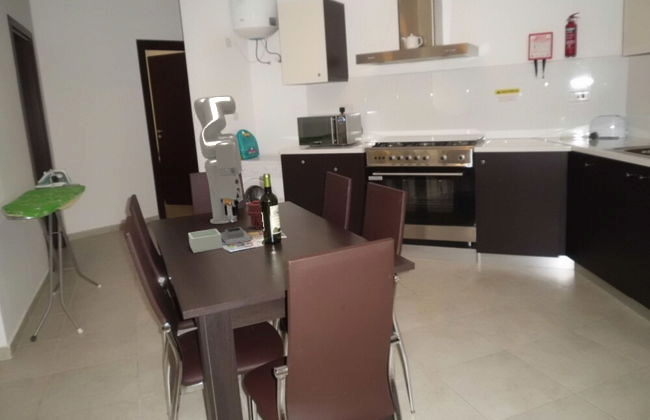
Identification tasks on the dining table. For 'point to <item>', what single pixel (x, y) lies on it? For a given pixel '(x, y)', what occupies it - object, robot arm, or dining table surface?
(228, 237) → the white base with recess
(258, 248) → the dining table surface
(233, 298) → the dining table surface
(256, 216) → the mechanical component
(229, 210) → the copper-capped metal peg
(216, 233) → the bin
